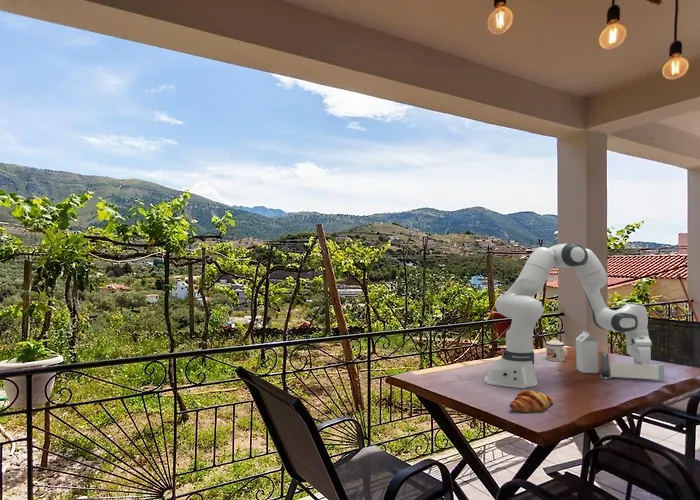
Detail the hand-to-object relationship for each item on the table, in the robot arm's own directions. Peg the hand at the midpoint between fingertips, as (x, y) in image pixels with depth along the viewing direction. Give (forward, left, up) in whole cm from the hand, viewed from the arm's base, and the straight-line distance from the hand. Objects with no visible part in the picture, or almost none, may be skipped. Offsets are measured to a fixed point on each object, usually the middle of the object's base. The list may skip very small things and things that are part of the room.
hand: (638, 368), depth 193 cm
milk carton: (-20, +4, -4) cm, 21 cm away
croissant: (-50, -56, -4) cm, 75 cm away
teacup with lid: (-30, +25, -4) cm, 39 cm away
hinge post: (-15, -7, -4) cm, 17 cm away
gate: (-3, -7, -3) cm, 8 cm away
